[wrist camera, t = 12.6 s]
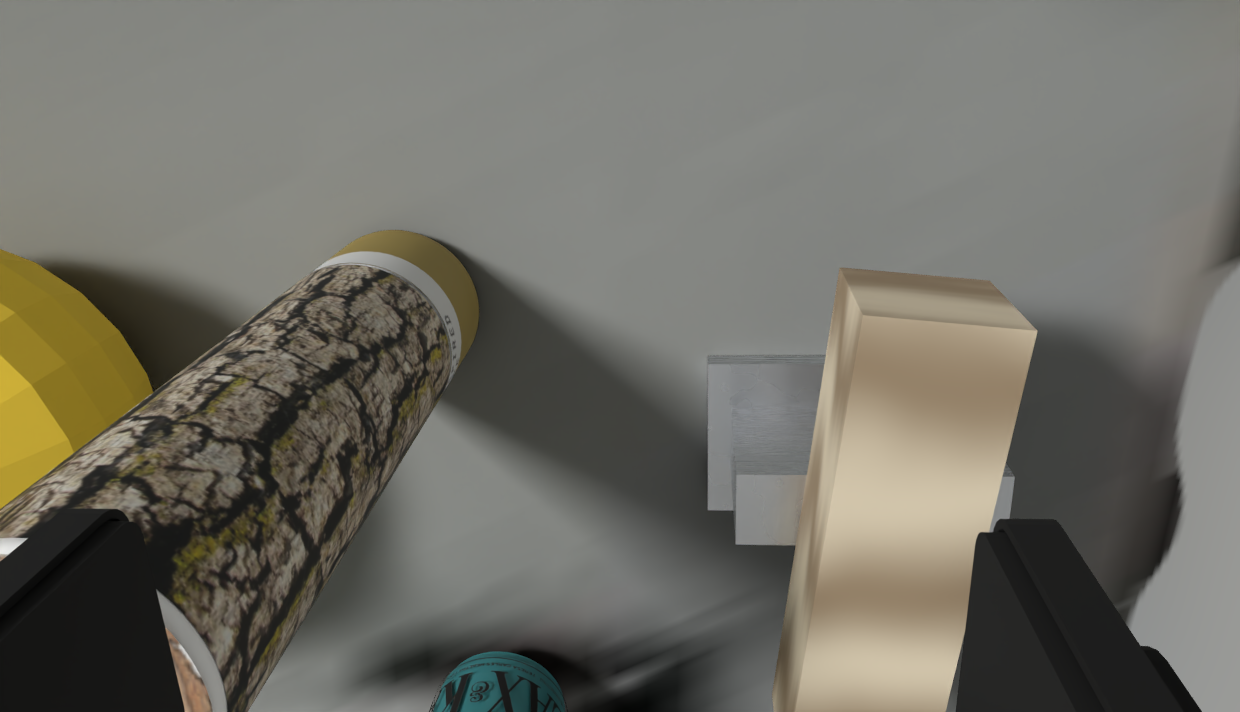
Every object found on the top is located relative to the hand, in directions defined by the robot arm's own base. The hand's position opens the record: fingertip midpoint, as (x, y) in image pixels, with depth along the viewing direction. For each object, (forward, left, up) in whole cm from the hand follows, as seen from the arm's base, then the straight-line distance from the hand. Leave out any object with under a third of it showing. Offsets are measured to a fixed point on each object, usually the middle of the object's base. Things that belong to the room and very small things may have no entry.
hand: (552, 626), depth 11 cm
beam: (+12, +8, -23) cm, 27 cm away
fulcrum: (+12, +8, -30) cm, 34 cm away
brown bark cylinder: (+6, -11, -31) cm, 33 cm away
